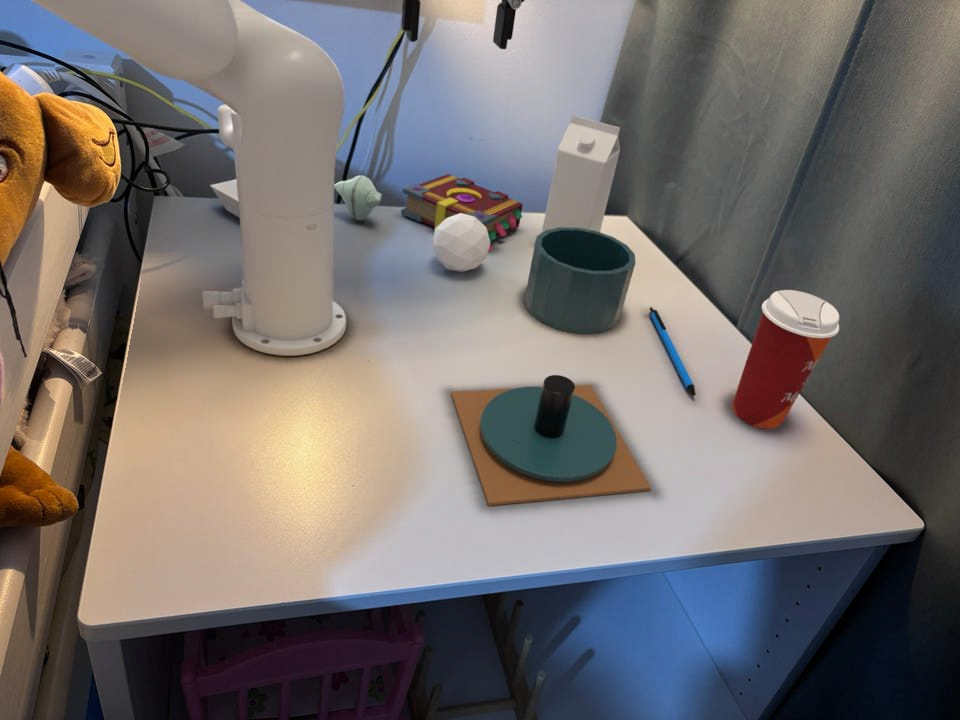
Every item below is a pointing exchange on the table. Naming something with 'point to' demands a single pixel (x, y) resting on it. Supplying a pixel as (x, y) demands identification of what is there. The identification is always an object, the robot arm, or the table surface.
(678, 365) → the pen
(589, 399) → the mat
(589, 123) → the milk carton
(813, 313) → the paper cup
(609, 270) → the pot
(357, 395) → the table surface
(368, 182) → the pale green seashell
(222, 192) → the figurine
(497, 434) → the lid
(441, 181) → the decorative book
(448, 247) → the geometric ball
